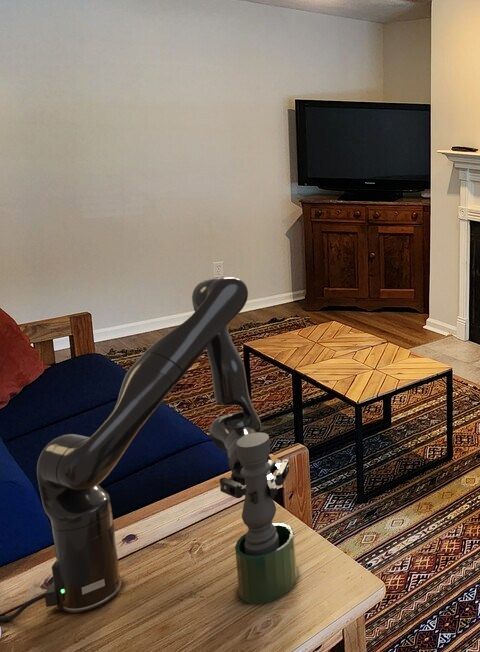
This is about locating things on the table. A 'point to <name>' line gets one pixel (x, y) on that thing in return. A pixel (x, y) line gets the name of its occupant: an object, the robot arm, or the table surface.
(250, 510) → the candle holder
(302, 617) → the table surface
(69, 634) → the table surface
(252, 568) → the pot
